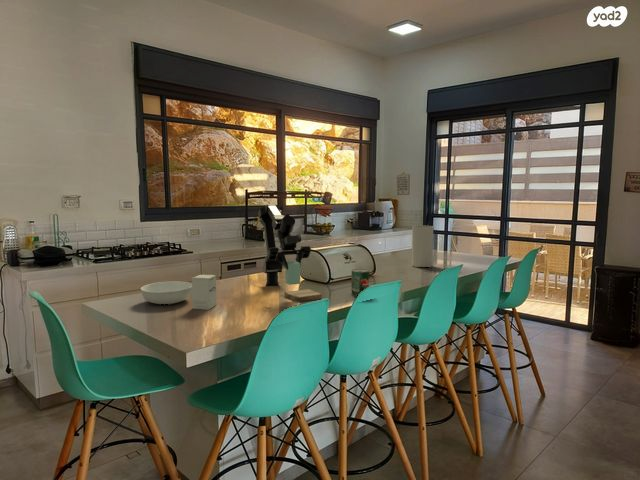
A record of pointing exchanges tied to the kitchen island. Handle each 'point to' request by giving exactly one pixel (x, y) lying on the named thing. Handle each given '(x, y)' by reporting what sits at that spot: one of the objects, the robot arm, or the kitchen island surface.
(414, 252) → the cylinder vase
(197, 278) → the supplement box
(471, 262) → the kitchen island surface
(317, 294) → the walnut board
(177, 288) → the serving bowl
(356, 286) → the canned tomato
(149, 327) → the kitchen island surface
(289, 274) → the teal block
